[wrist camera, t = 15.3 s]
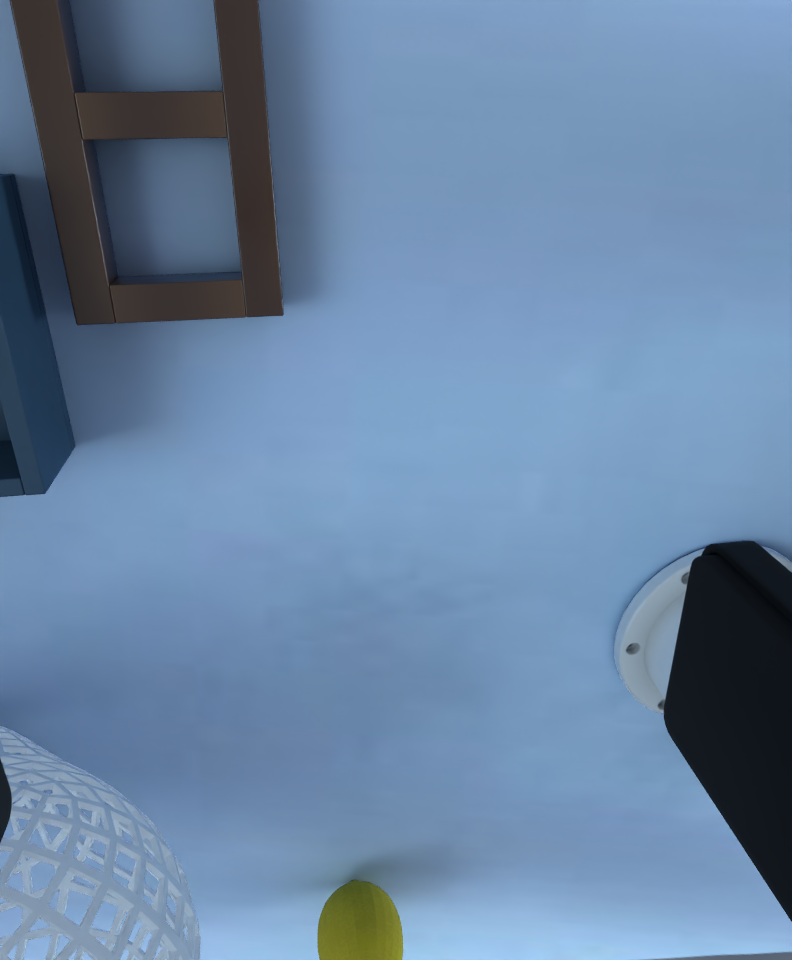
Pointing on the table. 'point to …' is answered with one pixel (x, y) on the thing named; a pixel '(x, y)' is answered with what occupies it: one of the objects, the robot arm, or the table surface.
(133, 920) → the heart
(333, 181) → the table surface
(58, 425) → the blue open box
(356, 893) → the lemon
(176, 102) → the stand
